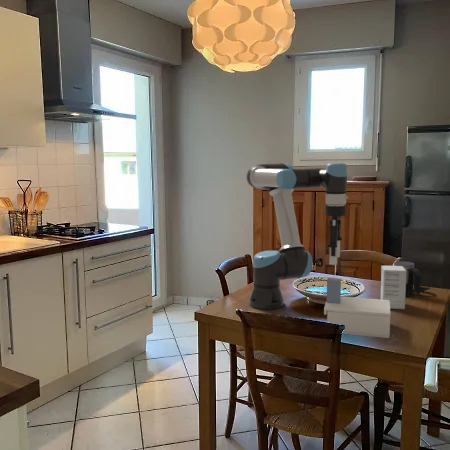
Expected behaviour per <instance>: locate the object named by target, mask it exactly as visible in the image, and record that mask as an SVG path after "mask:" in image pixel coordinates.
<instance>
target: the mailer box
mask: <svg viewBox="0 0 450 450" xmlns="http://www.w3.org/2000/svg"><path fill="white" fill-rule="evenodd" d="M326 315H327V316H326V323H327V322H329V323H334V324H343V325H345V329H344V331H343V333H342V334H343V335H344V334H345V335H355V336H363V337H365V336H366V337H374V338H376V337H377V338H385V339H390V336H391V335H390V331H391V315H390V316H380V315H369V314H357V313H346V312H334V311H327V314H326Z"/></svg>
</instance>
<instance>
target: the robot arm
mask: <svg viewBox="0 0 450 450" xmlns="http://www.w3.org/2000/svg"><path fill="white" fill-rule="evenodd" d="M347 167H348V166H347V164H346V163H344V162H343V163H341V162H340V163H334V162H333V163H326V166H325V167H323V168H322V167H316V168H294V166H292V165H291V164H289V163H283V162H280V163H259V164H255V165H253V166H251V167H250V168H249V169H248V171H247V173H246V176H245V177H246V181H247V184H248V185H249V186H250V187H252V188H254V189H257V190H268V193H269V195H270V196H271V197H272V198H273V204H274V211H275V216H276V217H275V218H276V221H277V222H276V223H277V229H278V233H279V238H280V244H281V245H280V246H281V247H280V248H279V250H273V249H272V250H263V251H260V252H258V253H256V254H254V256H253V260H252V261H253V262H252V268H253V273H252V276H253V280H252V281H253V283H252V284H253V285H252V286H253V287H252V290H251V293H250V295H249V305H250V306H251V307H252V308H255V309H260V310H275V309H280V308H282V307H283V306H284V304H285V303H284V302H285V301H284V297H283V293H282V290H281V283H280V282H281V280H283V281H284V280H292V279H301V278H307V277H308V276H309V275H310V274H311V272H312V268H313V257H312V254H311V253H310V252H309V251H307V250H306V248H305V245H303V244H301V239H300V234H299V233H300V232H299V228H298V222H297V217H296V212H295V204H294V201H293V200H294V199H293V195H292V193H293V192H294V191H295V190H297V189H321V188H322V189H325V203H324V204H326V205H325V215H326V216H327V217H331V219H330V220H329V244H327V248H329V260H328V261H329V263H328V264H329V265H332V266H337V265H338V258H341V241H343V237H341V229H342V228H341V227H342V226H341V225H342V219H341V217H345V216H346V215H347V206H346V204H347V199H349V196H348V195H347V187H348V186H347V185H348V169H347Z"/></svg>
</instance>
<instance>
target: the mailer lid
mask: <svg viewBox="0 0 450 450" xmlns="http://www.w3.org/2000/svg"><path fill="white" fill-rule="evenodd" d="M341 294H342V279H341V278H335V277H327V279H326V301H325V304H324V308H323V315H327V311H334V312H346V313H357V314H369V315H380V316H390V317H391V308H390V302H389V300H381V299H377V298H365V297H353V296H342V295H341Z"/></svg>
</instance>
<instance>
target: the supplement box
mask: <svg viewBox="0 0 450 450" xmlns="http://www.w3.org/2000/svg"><path fill="white" fill-rule="evenodd" d="M380 270H381V271H380V273H381V274H380V278H381V279H380V297H379V298H380V299H381V300H389V302H390V309H392V310H393V309H395V310H396V309H397V310H405V308H406V296H405V291H406V270H405V269H404V267H403V266H394V265H381V266H380Z"/></svg>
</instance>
